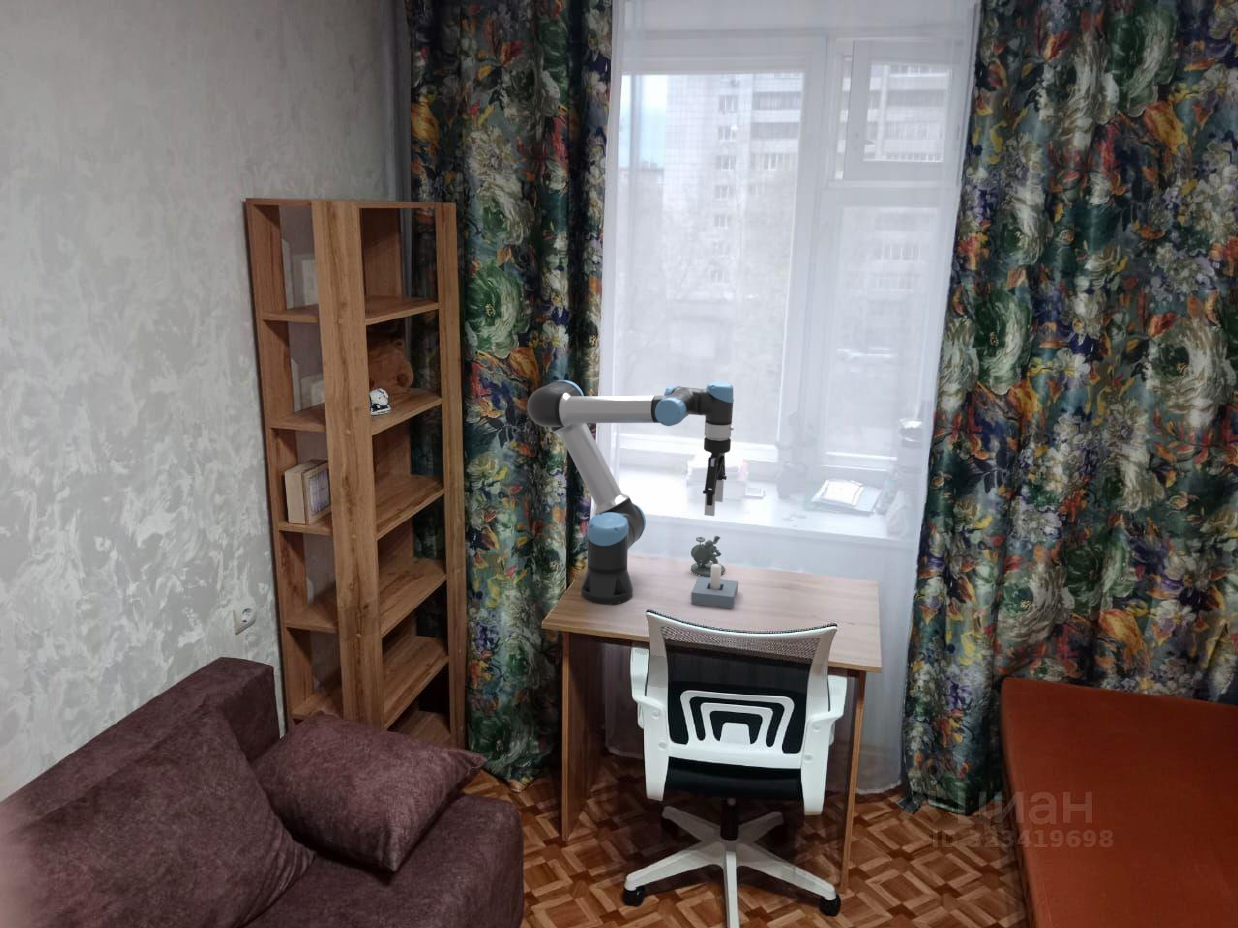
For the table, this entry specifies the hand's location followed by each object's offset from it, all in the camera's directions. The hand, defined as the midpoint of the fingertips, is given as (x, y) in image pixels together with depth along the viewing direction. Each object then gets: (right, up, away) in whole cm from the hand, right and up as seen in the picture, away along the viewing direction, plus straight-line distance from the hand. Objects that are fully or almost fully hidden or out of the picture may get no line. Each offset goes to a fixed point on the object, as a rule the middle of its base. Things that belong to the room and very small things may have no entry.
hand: (713, 508), depth 267 cm
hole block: (0, -26, +2) cm, 26 cm away
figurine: (0, -21, +22) cm, 30 cm away
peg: (0, -26, +2) cm, 26 cm away
